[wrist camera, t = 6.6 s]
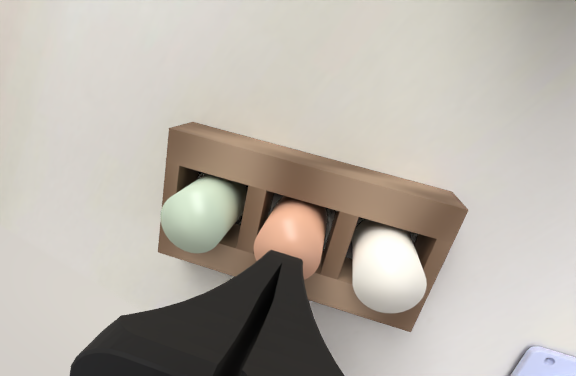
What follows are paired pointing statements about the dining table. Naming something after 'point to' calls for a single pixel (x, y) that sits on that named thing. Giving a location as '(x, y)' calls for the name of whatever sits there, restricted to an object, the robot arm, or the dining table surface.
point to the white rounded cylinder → (386, 268)
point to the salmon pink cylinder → (294, 232)
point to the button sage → (203, 213)
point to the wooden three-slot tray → (317, 190)
